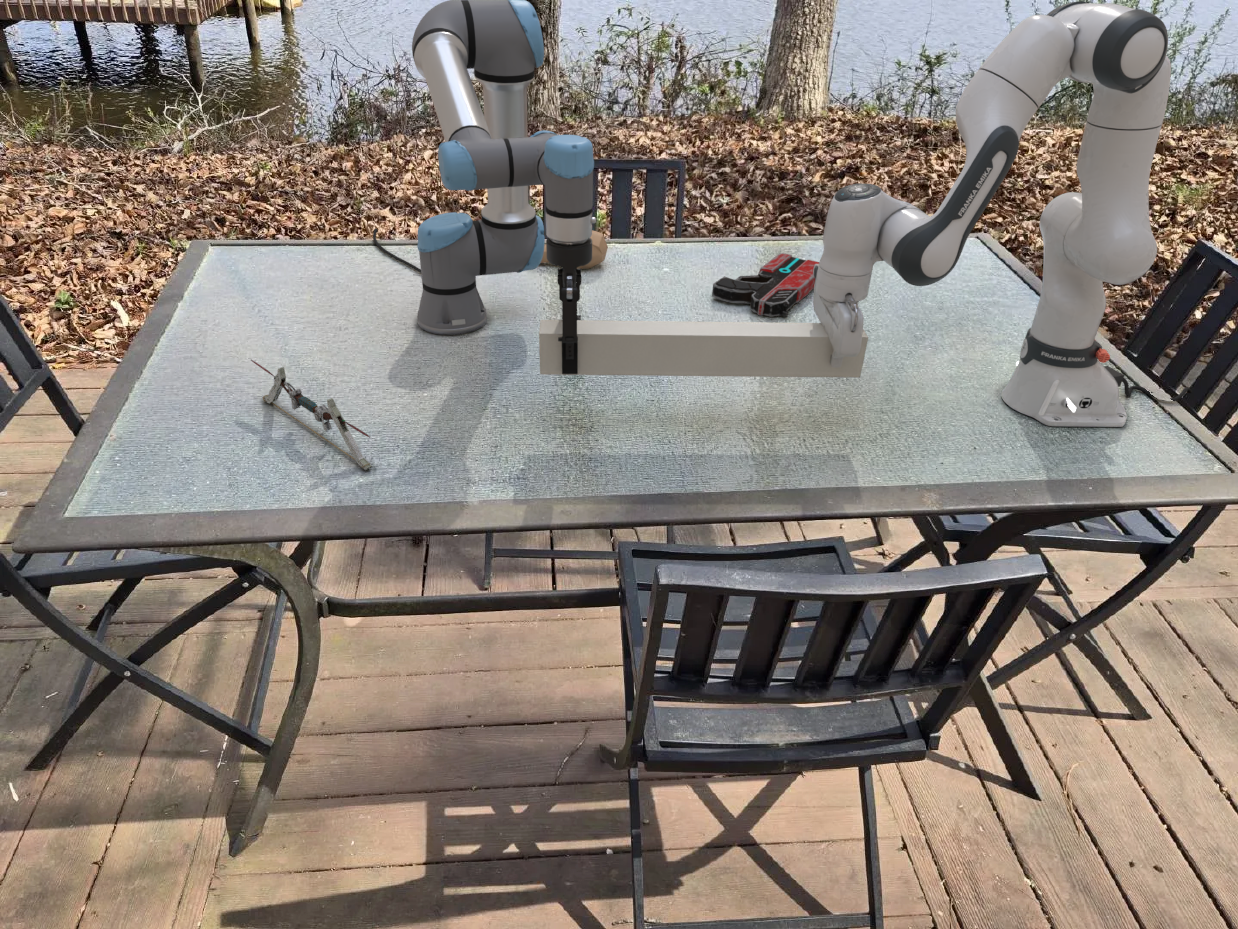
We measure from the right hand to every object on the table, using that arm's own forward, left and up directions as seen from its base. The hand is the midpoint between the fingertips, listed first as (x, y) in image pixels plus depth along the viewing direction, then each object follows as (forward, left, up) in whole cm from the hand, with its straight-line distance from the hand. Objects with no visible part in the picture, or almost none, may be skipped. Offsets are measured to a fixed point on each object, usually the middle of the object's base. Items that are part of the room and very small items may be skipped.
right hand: (830, 356), depth 156 cm
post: (+23, +5, -3) cm, 23 cm away
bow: (+89, +23, -14) cm, 93 cm away
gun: (+11, -62, -14) cm, 64 cm away
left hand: (+46, +10, -2) cm, 46 cm away
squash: (+63, -68, -14) cm, 94 cm away
